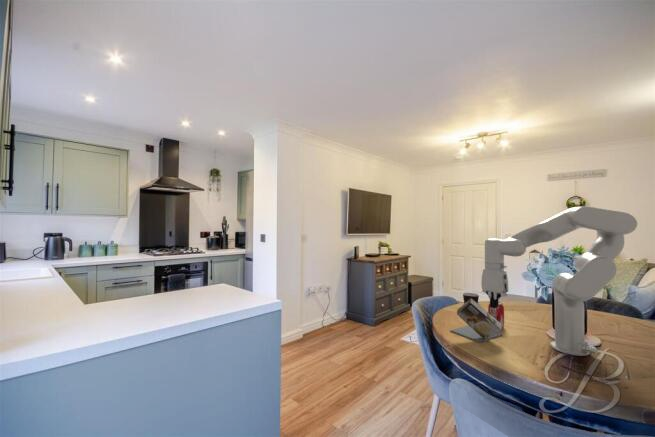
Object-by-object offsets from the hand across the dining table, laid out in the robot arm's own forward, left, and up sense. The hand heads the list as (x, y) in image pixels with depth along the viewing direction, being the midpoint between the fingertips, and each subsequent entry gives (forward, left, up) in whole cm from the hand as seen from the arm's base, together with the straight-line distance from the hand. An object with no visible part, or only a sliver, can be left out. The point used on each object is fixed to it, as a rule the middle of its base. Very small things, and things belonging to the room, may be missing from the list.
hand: (494, 307), depth 132 cm
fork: (-34, +1, -15) cm, 37 cm away
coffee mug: (+32, -28, -15) cm, 45 cm away
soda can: (+10, -18, -15) cm, 26 cm away
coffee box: (-1, +1, -11) cm, 11 cm away
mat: (+9, 0, -15) cm, 17 cm away
